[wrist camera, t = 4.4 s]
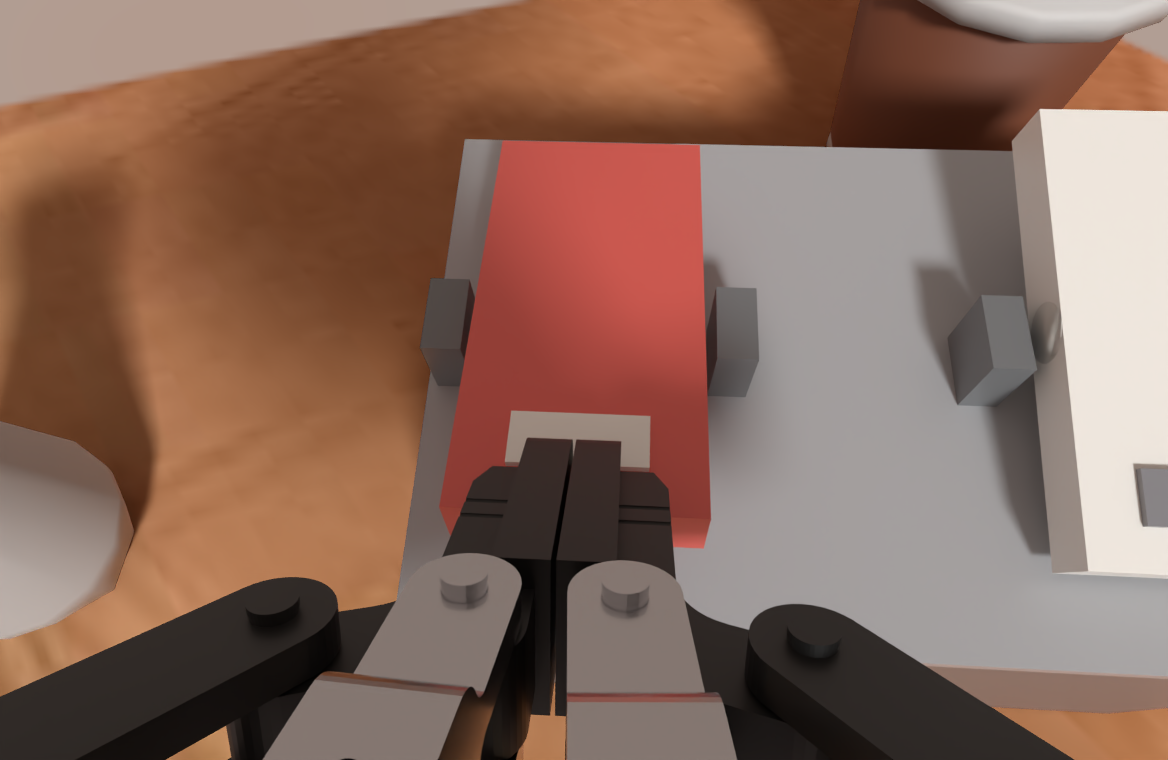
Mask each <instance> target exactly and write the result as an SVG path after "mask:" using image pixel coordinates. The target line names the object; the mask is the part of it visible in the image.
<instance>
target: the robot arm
mask: <svg viewBox="0 0 1168 760" xmlns="http://www.w3.org/2000/svg"><path fill="white" fill-rule="evenodd" d="M620 466H621V441H605V440H580V439H576V444H575V450H574V456H573V439H552V438H527V439H526V442H525V446H524V449H523V452H522V455H521V459H520V462H519V465H518V467H505V466H492V467H490V468H489V469H488V470H486V471H485V472H484V473H482V474H481V475H480V476H479V477H477V478H476V479H475V480H473V482H472V485H471V487H470V489H469V492H468V494H467V497H466V502H464V504H463V507H462V509H461V512H460V516H459V517H458V519H457V521H456V524H455V526H454V529H453V531H452V534H451V536H450V539H449V541H448V544H447V546H446V549H445V551H444V553H443V556H442V557H441V558H438V559H435V560H433V561H431V562H428V563H426V564H425V565H423V566H422V567H420V568H419V569H418V570H416V571H415V572H414V573H413V574H412V576H411V577H410V578H409V580H408V582H407V583H406V585H405V587H404V588H403V590H402V592H401V593H400V595H399V597H398V599H397V600H396V601H394V602H391V603H387V604H384V605H378V606H373V607H367V608H360V609H354V610H347V611H341V612H338V602H337V598H336V595H335V593H334V592H333V590H332V589H331V588H329V587H328V586H327V585H325V584H323V583H322V582H319V581H316V580H312V579H308V578H299V577H285V578H277V579H271V580H266V581H262V582H259V583H255V584H253V585H250V586H247V587H245V588H243V589H240V590H238V591H236V592H234V593H231V594H229V595H227V596H225V597H222V598H220V599H218V600H216V601H214V602H211V603H209V604H207V605H205V606H202V607H200V608H198V609H196V610H193V611H191V612H189V613H187V614H184V615H182V616H180V617H178V618H176V619H173V620H171V621H169V622H167V623H164V624H162V625H160V626H158V627H155V628H153V629H151V630H149V631H146V632H144V633H142V634H140V635H137V636H135V637H133V638H131V639H129V640H126V641H124V642H122V643H120V644H117V645H115V646H113V647H111V648H108V649H106V650H104V651H102V652H99V653H97V654H95V655H93V656H91V657H88V658H86V659H84V660H82V661H79V662H77V663H75V664H73V665H70V666H68V667H66V668H64V669H61V670H59V671H57V672H55V673H53V674H50V675H48V676H46V677H44V678H41V679H39V680H37V681H35V682H32V683H30V684H28V685H26V686H23V687H21V688H19V689H17V690H14V691H12V692H10V693H8V694H6V695H3V696H1V697H0V760H166V759H167V758H169V757H171V756H173V755H175V754H176V753H178V752H180V751H182V750H183V749H185V748H187V747H189V746H191V745H192V744H194V743H196V742H198V741H199V740H201V739H203V738H205V737H207V736H208V735H210V734H212V733H214V732H215V731H217V730H219V729H221V728H223V727H224V726H226V727H227V733H228V739H229V745H230V751H231V758H230V759H228V760H523V743H524V741H525V739H526V737H527V733H528V728H529V722H530V716H531V714H532V715H550V711H551V703H552V696H553V689H554V681H555V674H556V681H555V716H566V741H565V760H1074V759H1072V758H1071V757H1069V756H1068V755H1066V754H1064V753H1063V752H1061V751H1060V750H1058V749H1056V748H1055V747H1053V746H1052V745H1050V744H1048V743H1047V742H1045V741H1044V740H1042V739H1041V738H1039V737H1037V736H1036V735H1034V734H1033V733H1031V732H1029V731H1028V730H1026V729H1025V728H1023V727H1022V726H1020V725H1018V724H1017V723H1015V722H1014V721H1012V720H1010V719H1009V718H1007V717H1006V716H1004V715H1003V714H1001V713H999V712H998V711H996V710H995V709H993V708H991V707H990V706H988V705H987V704H985V703H984V702H982V701H980V700H979V699H977V698H976V697H974V696H972V695H971V694H969V693H968V692H966V691H965V690H963V689H961V688H960V687H958V686H957V685H955V684H953V683H952V682H950V681H949V680H947V679H946V678H944V677H942V676H941V675H939V674H938V673H936V672H934V671H933V670H931V669H930V668H928V667H927V666H925V665H923V664H922V663H920V662H919V661H917V660H915V659H914V658H912V657H911V656H909V655H908V654H906V653H904V652H903V651H901V650H900V649H898V648H896V647H895V646H893V645H892V644H890V643H888V642H887V641H885V640H884V639H882V638H881V637H879V636H877V635H876V634H874V633H873V632H871V631H869V630H868V629H866V628H865V627H863V626H862V625H860V624H858V623H857V622H855V621H854V620H852V619H850V618H848V617H847V616H845V615H843V614H840V613H838V612H836V611H833V610H830V609H827V608H823V607H819V606H814V605H807V604H785V605H779V606H774V607H772V608H769V609H766V610H764V611H763V612H761V613H759V614H758V615H757V616H756V617H755V618H754V619H753V621H752V622H751V624H750V628H749V630H748V629H744V628H740V627H736V626H733V625H729V624H726V623H723V622H719V621H717V620H714V619H712V618H710V617H707V616H705V615H704V614H702V613H700V612H698V611H697V610H696V609H694V608H693V607H691V606H690V605H689V604H688V603H687V602H686V601H685V600H684V595H683V591H682V589H681V586H680V585H679V583H678V582H677V581H676V574H675V562H674V550H673V538H672V526H671V513H670V501H669V489H668V488H667V487H666V486H665V484H664V483H663V482H662V481H661V480H660V479H659V478H658V477H657V476H656V475H655V473H650V472H626V471H620Z"/></svg>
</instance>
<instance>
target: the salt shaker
mask: <svg viewBox="0 0 1168 760" xmlns="http://www.w3.org/2000/svg"><path fill="white" fill-rule="evenodd" d="M133 534H134V529H133V526H132V523H131V519H130V516H129V513H128V510H127V507H126V504H125V502H124V499H123V497H122V494H121V492H120V490H119V487H118V485H117V482H116V480H115V478H114V475H113V473H112V471H111V470H110V469H109V468H108V467H107V466H106V465H105V464H104V463H102V462H101V461H100V460H99V459H97V458H96V457H95V456H93V455H92V454H91V453H89V452H88V451H87V450H85V449H84V448H83V447H81V446H80V445H79V444H77V443H76V442H75V441H71V440H68V439H64V438H60V437H57V436H53V435H49V434H46V433H42V432H38V431H35V430H31V429H27V428H24V427H20V426H16V425H13V424H9V423H5V422H2V421H0V639H11V638H14V637H17V636H20V635H23V634H26V633H29V632H32V631H35V630H38V629H41V628H44V627H47V626H50V625H53V624H56V623H57V622H59V621H61V620H62V619H64V618H66V617H67V616H69V615H71V614H72V613H74V612H76V611H78V610H79V609H81V608H83V607H84V606H86V605H88V604H90V603H91V602H93V601H95V600H97V599H98V598H100V597H102V596H104V595H106V594H107V593H109V592H111V591H113V590H114V588H115V586H116V583H117V580H118V577H119V574H120V571H121V568H122V566H123V563H124V560H125V557H126V554H127V551H128V549H129V546H130V543H131V540H132V537H133Z"/></svg>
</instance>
